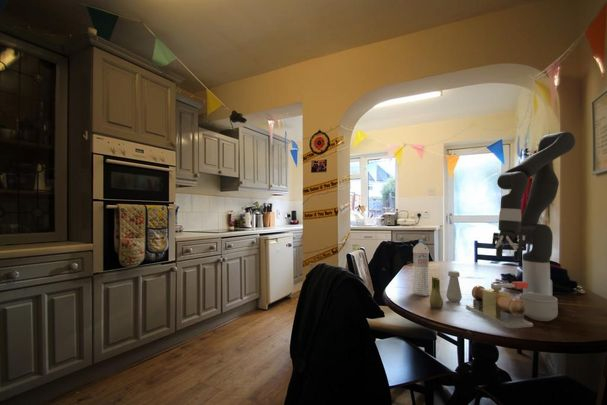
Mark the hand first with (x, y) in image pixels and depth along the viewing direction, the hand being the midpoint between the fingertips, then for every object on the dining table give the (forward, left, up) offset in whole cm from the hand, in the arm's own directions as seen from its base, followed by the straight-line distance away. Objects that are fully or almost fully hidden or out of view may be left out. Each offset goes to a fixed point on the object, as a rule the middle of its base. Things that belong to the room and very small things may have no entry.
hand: (507, 259), depth 120 cm
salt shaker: (+20, -7, -19) cm, 28 cm away
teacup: (+1, +13, -19) cm, 23 cm away
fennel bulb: (+32, -1, -19) cm, 37 cm away
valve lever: (+10, +11, -9) cm, 18 cm away
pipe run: (+16, +11, -19) cm, 27 cm away
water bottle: (+28, -19, -19) cm, 38 cm away
